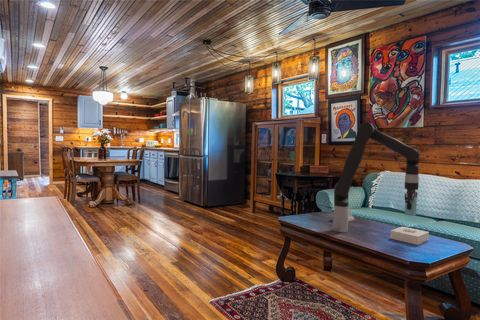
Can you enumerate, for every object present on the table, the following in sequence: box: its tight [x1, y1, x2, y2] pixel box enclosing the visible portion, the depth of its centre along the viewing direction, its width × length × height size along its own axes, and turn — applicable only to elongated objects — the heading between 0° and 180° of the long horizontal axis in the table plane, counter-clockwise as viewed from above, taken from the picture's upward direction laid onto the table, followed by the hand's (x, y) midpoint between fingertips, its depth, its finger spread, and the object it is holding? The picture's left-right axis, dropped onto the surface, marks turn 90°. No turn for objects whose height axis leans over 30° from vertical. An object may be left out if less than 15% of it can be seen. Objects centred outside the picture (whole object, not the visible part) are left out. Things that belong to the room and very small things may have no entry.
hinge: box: [348, 208, 356, 222], centre depth 241 cm, size 17×5×10 cm, turn 125°
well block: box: [390, 226, 430, 246], centre depth 194 cm, size 16×16×5 cm
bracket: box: [404, 197, 418, 217], centre depth 193 cm, size 4×5×11 cm
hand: (410, 208), depth 193 cm, fingers closed on bracket, 4 cm apart
